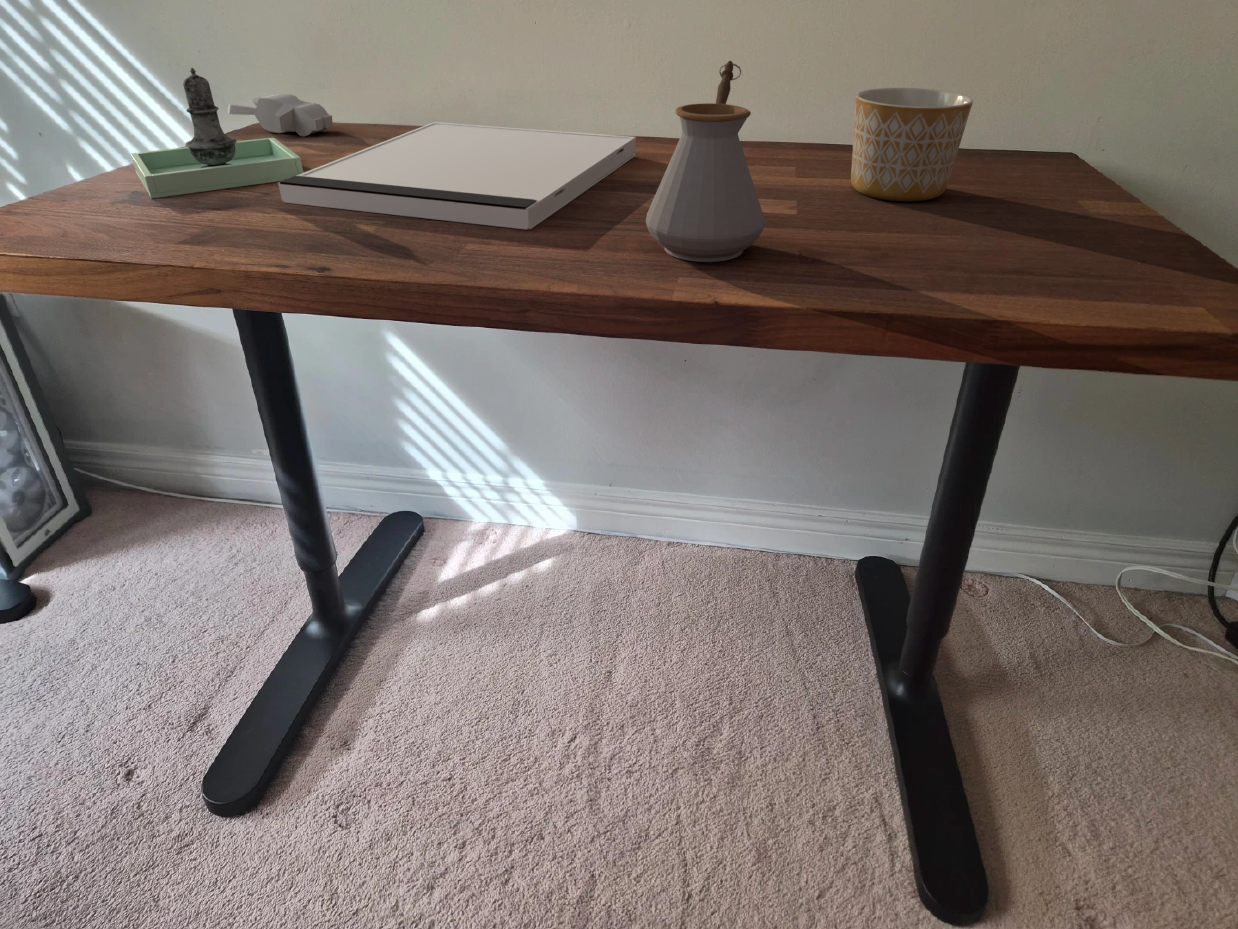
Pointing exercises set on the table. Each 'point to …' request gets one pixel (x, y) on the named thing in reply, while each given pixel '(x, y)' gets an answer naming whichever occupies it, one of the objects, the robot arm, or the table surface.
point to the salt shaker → (206, 125)
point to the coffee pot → (707, 185)
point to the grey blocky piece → (286, 114)
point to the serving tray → (215, 168)
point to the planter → (906, 142)
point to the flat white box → (465, 174)
